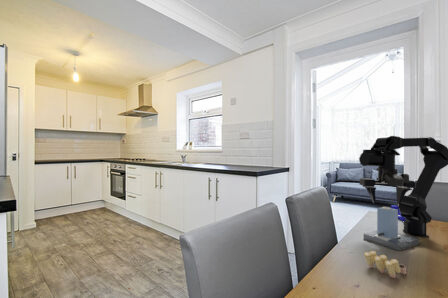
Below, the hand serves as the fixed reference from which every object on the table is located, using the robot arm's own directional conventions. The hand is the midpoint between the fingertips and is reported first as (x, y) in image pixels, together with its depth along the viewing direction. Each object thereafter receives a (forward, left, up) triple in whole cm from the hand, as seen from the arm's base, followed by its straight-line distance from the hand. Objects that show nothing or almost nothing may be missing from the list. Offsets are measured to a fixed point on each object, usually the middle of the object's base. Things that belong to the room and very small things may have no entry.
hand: (386, 203), depth 93 cm
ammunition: (+16, +32, -13) cm, 38 cm away
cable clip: (-19, -27, -13) cm, 36 cm away
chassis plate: (+2, +7, -13) cm, 15 cm away
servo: (+4, +8, -13) cm, 16 cm away
